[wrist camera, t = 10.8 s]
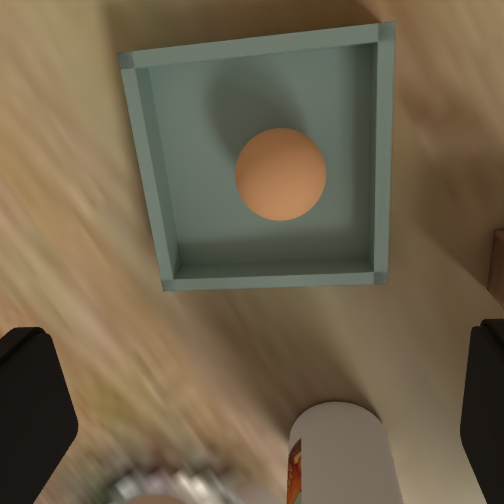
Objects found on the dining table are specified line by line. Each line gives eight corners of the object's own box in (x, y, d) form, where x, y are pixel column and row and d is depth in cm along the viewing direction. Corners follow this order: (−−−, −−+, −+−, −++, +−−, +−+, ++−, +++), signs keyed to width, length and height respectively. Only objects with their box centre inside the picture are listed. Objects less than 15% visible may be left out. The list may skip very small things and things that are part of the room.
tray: (384, 26, 23) (395, 21, 20) (379, 264, 28) (387, 283, 25) (136, 55, 25) (117, 52, 22) (175, 272, 30) (163, 291, 27)
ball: (300, 120, 25) (343, 125, 21) (304, 201, 27) (344, 222, 23) (219, 130, 24) (246, 138, 20) (229, 215, 26) (256, 239, 21)
